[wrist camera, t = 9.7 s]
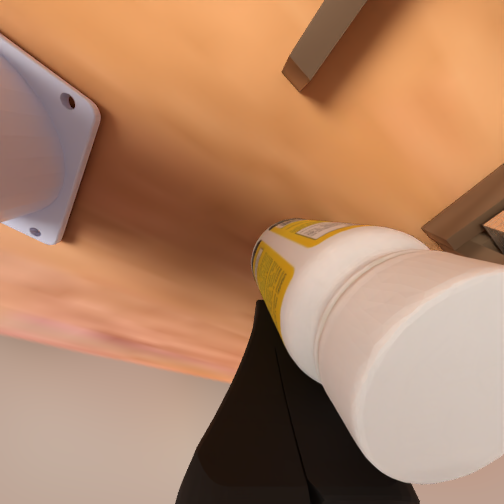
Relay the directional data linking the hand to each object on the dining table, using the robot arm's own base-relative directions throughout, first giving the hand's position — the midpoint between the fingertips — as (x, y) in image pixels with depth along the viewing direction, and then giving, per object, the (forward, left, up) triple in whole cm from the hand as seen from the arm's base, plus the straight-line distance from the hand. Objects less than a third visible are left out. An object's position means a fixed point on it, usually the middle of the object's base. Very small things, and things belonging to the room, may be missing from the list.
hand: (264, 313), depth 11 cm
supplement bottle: (0, +3, -2) cm, 3 cm away
